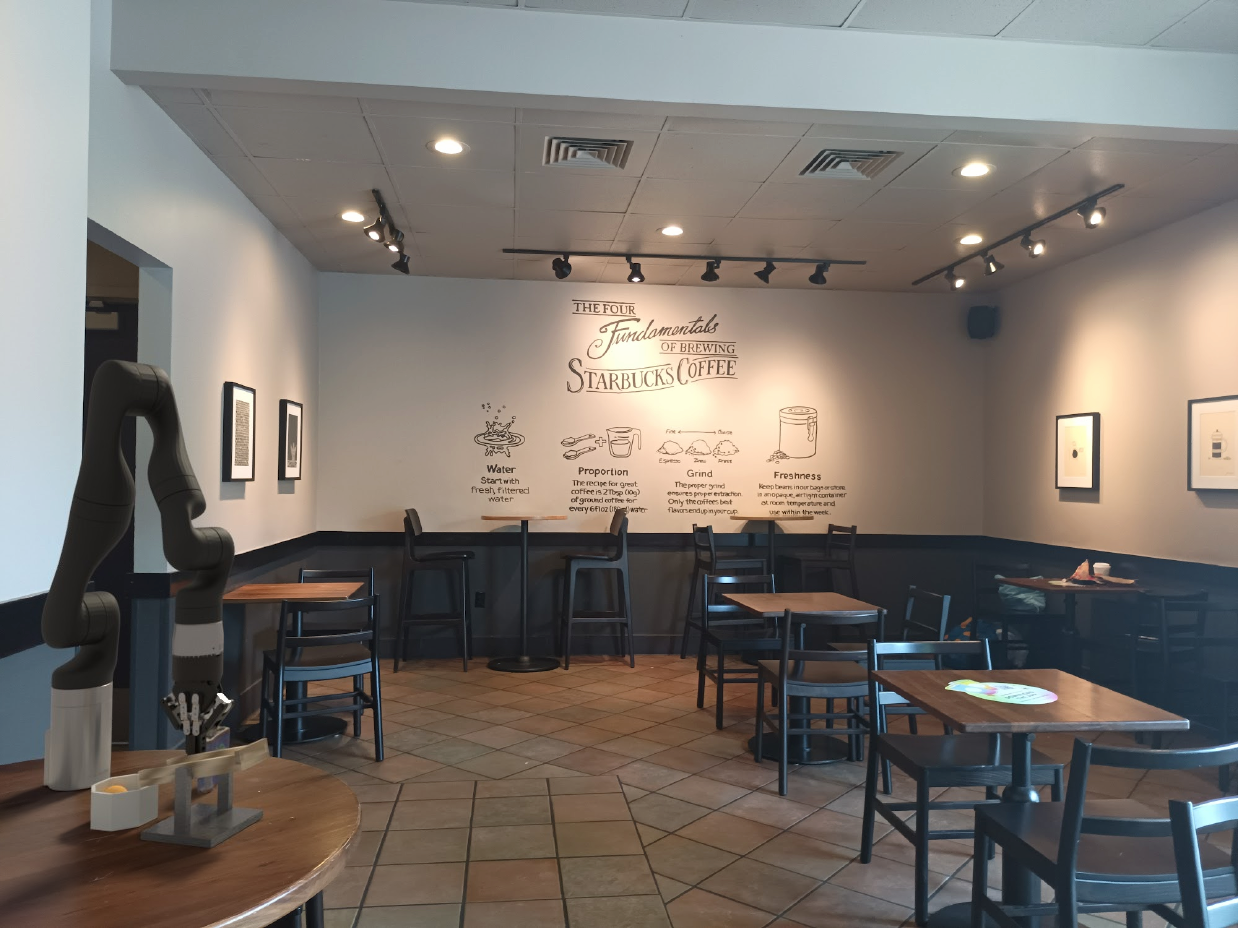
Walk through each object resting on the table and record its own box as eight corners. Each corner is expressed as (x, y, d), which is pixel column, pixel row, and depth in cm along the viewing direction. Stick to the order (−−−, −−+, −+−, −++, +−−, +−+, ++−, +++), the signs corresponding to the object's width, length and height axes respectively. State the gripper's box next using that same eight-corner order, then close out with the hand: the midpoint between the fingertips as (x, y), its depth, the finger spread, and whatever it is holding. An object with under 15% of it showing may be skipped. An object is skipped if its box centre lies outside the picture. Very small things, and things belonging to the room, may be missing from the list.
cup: (76, 827, 132) (77, 790, 132) (122, 805, 141) (123, 772, 141) (125, 832, 130) (126, 796, 130) (170, 811, 139) (170, 776, 139)
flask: (209, 793, 147) (210, 730, 147) (191, 794, 146) (192, 730, 147) (231, 776, 156) (232, 716, 156) (215, 776, 156) (216, 716, 156)
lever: (138, 788, 130) (134, 768, 131) (201, 761, 144) (198, 742, 144) (240, 772, 126) (236, 751, 127) (295, 745, 140) (292, 726, 140)
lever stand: (140, 839, 127) (142, 767, 128) (197, 810, 139) (199, 744, 139) (210, 847, 125) (212, 774, 125) (263, 817, 136) (264, 749, 137)
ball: (88, 803, 134) (102, 784, 134) (109, 794, 138) (122, 776, 138) (105, 821, 134) (119, 802, 133) (125, 812, 138) (139, 793, 137)
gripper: (146, 651, 138) (143, 760, 138) (217, 655, 135) (215, 767, 135) (180, 643, 146) (177, 746, 145) (248, 647, 143) (246, 752, 142)
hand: (195, 756), depth 140 cm, fingers closed
